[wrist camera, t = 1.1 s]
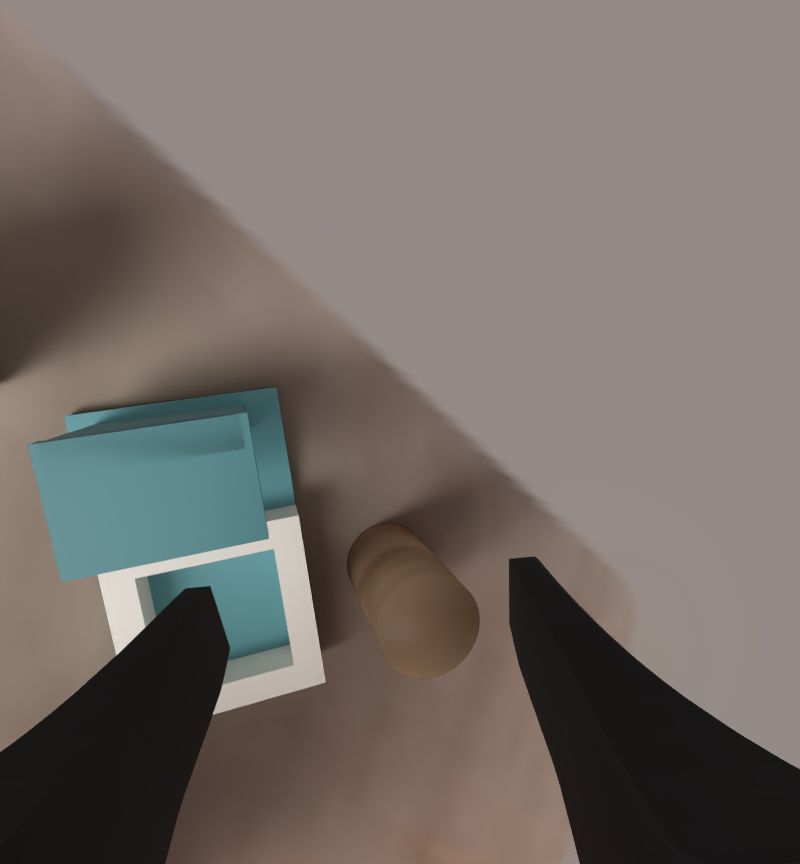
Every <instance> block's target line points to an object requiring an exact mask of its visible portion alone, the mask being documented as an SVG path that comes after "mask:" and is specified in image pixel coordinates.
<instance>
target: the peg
mask: <svg viewBox="0 0 800 864" xmlns="http://www.w3.org/2000/svg"><path fill="white" fill-rule="evenodd" d="M347 571H348V575H349V578H350V580H351V583H352V585H353V587H354V589H355V592H356V594H357V596H358V599H359V601H360V603H361V605H362V608H363V610H364V612H365V615H366V617H367V619H368V621H369V624H370V626H371V628H372V631H373V633H374V635H375V637H376V640H377V642H378V644H379V647H380V649H381V651H382V653H383V656H384V657H385V659H386V661H387V662H388V663H389V665H390V666H391V667H392V668H393V669H394V670H396V671H397V672H399V673H400V674H402V675H404V676H407V677H410V678H416V679H427V678H433V677H437V676H440V675H443V674H445V673H447V672H449V671H450V670H452V669H453V668H455V667H456V666H457V665H458V664H460V663H461V662H462V661H463V660H464V659H465V657H466V656H467V655H468V654H469V652H470V651H471V649H472V647H473V645H474V643H475V641H476V638H477V635H478V631H479V623H480V620H479V611H478V607H477V604H476V602H475V600H474V598H473V596H472V595H471V593H470V592H469V591H468V590H467V589H466V588H465V587H464V586H463V585H462V584H461V583H460V582H459V581H458V580H457V578H456V577H455V576H454V575H453V574H452V573H451V572H450V571H449V570H448V569H447V568H446V567H445V566H444V565H443V564H442V563H441V562H440V561H439V559H438V558H437V557H436V556H435V555H434V554H433V553H432V552H431V551H430V550H429V549H428V548H427V547H426V546H425V545H424V544H423V543H422V542H421V540H420V539H419V538H418V537H417V536H416V535H415V534H414V533H413V532H412V531H411V530H409V529H408V528H406V527H404V526H402V525H399V524H395V523H383V524H378V525H375V526H373V527H371V528H369V529H367V530H366V531H364V532H363V533H362V534H361V535H360V536H359V537H358V538H357V539H356V540H355V542H354V543H353V545H352V547H351V549H350V551H349V554H348V559H347Z"/></svg>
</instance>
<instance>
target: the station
mask: <svg viewBox="0 0 800 864" xmlns="http://www.w3.org/2000/svg"><path fill="white" fill-rule="evenodd" d="M64 418H65V422H66V426H67V431H68V433H67V434H64V435H61V436H58V437H55V438H52V439H49V440H45V441H38V442H35V443H32V444H29V445H28V448H29V452H30V456H31V460H32V464H33V468H34V472H35V476H36V480H37V484H38V489H39V493H40V497H41V501H42V505H43V509H44V513H45V517H46V521H47V525H48V529H49V533H50V538H51V542H52V546H53V550H54V554H55V558H56V562H57V566H58V570H59V574H60V578H61V582H65V581H70V580H74V579H79V578H84V577H89V576H94V575H98V578H99V583H100V587H101V591H102V595H103V600H104V604H105V608H106V613H107V617H108V621H109V626H110V630H111V634H112V639H113V643H114V647H115V651H116V655H117V654H118V653H120V652H121V651H122V650H123V649H124V648H125V647H126V646H127V645H128V644H129V643H130V642H131V641H132V640H133V639H134V638H135V637H136V636H137V635H138V634H139V633H140V632H141V631H142V630H143V629H144V628H145V627H146V626H147V625H148V624H149V623H150V622H151V621H152V620H153V619H154V618H155V617H156V616H157V615H158V614H159V613H160V612H161V611H162V610H163V609H164V608H165V607H166V606H167V605H168V604H169V603H170V602H171V601H172V600H173V599H175V598H176V597H177V596H178V595H179V594H180V593H181V592H182V591H183V590H184V589H185V588H194V587H205V586H211V590H212V593H213V596H214V599H215V602H216V605H217V608H218V611H219V614H220V618H221V621H222V624H223V627H224V630H225V633H226V636H227V639H228V642H229V646H230V652H229V657H228V662H227V667H226V672H225V676H224V680H223V684H222V688H221V692H220V695H219V698H218V701H217V704H216V707H215V710H214V712H213V715H214V714H217V713H221V712H224V711H228V710H231V709H235V708H238V707H242V706H245V705H249V704H252V703H256V702H259V701H263V700H266V699H270V698H273V697H277V696H280V695H284V694H287V693H291V692H294V691H298V690H301V689H305V688H308V687H312V686H315V685H319V684H322V683H326V681H325V675H324V669H323V663H322V657H321V651H320V644H319V638H318V632H317V626H316V620H315V614H314V607H313V601H312V595H311V589H310V583H309V577H308V570H307V564H306V558H305V552H304V546H303V540H302V533H301V527H300V521H299V515H298V511H297V508H296V504H295V498H294V492H293V486H292V479H291V473H290V467H289V461H288V455H287V449H286V443H285V436H284V430H283V424H282V418H281V412H280V406H279V400H278V393H277V387H272V388H265V389H257V390H250V391H242V392H235V393H228V394H220V395H213V396H205V397H198V398H191V399H183V400H176V401H168V402H161V403H154V404H146V405H139V406H132V407H124V408H117V409H109V410H102V411H95V412H87V413H80V414H72V415H67V416H64Z"/></svg>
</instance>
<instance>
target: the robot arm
mask: <svg viewBox="0 0 800 864" xmlns="http://www.w3.org/2000/svg"><path fill="white" fill-rule="evenodd" d="M509 623H510V628H511V632H512V637H513V641H514V646H515V650H516V654H517V658H518V663H519V666H520V669H521V672H522V675H523V678H524V681H525V684H526V687H527V690H528V693H529V695H530V698H531V701H532V704H533V707H534V710H535V713H536V715H537V718H538V721H539V724H540V727H541V730H542V733H543V735H544V738H545V741H546V744H547V747H548V750H549V752H550V755H551V758H552V761H553V764H554V767H555V771H556V774H557V777H558V780H559V784H560V787H561V791H562V795H563V799H564V803H565V807H566V811H567V815H568V818H569V822H570V826H571V830H572V834H573V838H574V842H575V846H576V850H577V854H578V858H579V862H580V864H800V769H798V768H796V767H795V766H793V765H791V764H789V763H787V762H786V761H784V760H782V759H780V758H779V757H777V756H775V755H774V754H772V753H770V752H769V751H767V750H765V749H764V748H762V747H760V746H759V745H757V744H755V743H754V742H752V741H750V740H749V739H747V738H745V737H744V736H742V735H741V734H739V733H737V732H736V731H734V730H733V729H731V728H730V727H728V726H726V725H725V724H724V723H722V722H721V721H719V720H718V719H716V718H715V717H713V716H712V715H710V714H709V713H707V712H706V711H704V710H703V709H701V708H700V707H698V706H697V705H696V704H694V703H693V702H691V701H689V700H688V699H687V698H685V697H684V696H683V695H681V694H680V693H679V692H677V691H676V690H675V689H673V688H672V687H671V686H669V685H668V684H667V683H665V682H664V681H663V680H662V679H660V678H659V677H658V676H656V675H655V674H654V673H653V672H651V671H650V670H649V669H648V668H646V667H645V666H644V665H643V664H642V663H640V662H639V661H638V660H637V659H636V658H635V657H633V656H632V655H631V654H630V653H629V652H628V651H626V650H625V649H624V648H623V647H622V646H621V645H620V644H619V643H618V642H617V641H615V640H614V639H613V638H612V637H611V636H610V635H609V634H608V633H607V632H606V631H605V630H604V629H603V628H602V627H601V626H599V625H598V624H597V623H596V622H595V621H594V620H593V619H592V618H591V617H590V616H589V615H588V614H587V613H586V612H585V611H584V609H583V608H582V607H581V606H580V605H579V604H578V603H577V602H576V601H575V600H574V599H573V598H572V597H571V596H570V595H569V594H568V593H567V592H566V591H565V589H564V588H563V587H562V586H561V585H560V584H559V583H558V582H557V581H556V579H555V578H554V577H553V576H552V575H551V574H550V572H549V571H548V570H547V569H546V568H545V567H544V565H543V564H542V563H541V562H540V561H539V560H538V559H537V558H536V557H525V558H514V559H509ZM229 652H230V646H229V642H228V639H227V636H226V633H225V630H224V627H223V624H222V621H221V618H220V614H219V611H218V608H217V605H216V602H215V599H214V596H213V593H212V590H211V586H205V587H194V588H185V589H184V590H183V591H182V592H181V593H180V594H179V595H178V596H177V597H176V598H175V599H173V600H172V601H171V602H170V603H169V604H168V605H167V606H166V607H165V608H164V609H163V610H162V611H161V612H160V613H159V614H158V615H157V616H156V617H155V618H154V619H153V620H152V621H151V622H150V623H149V624H148V625H147V626H146V627H145V628H144V629H143V630H142V631H141V632H140V633H139V634H138V635H137V636H136V637H135V638H134V639H133V640H132V641H131V642H130V643H129V644H128V645H127V646H126V647H125V648H124V649H123V650H122V651H121V652H120V653H118V654H117V655H116V656H115V657H114V658H113V659H112V660H111V661H110V662H109V663H108V664H107V665H105V666H104V667H103V668H102V669H101V670H100V671H99V672H98V673H97V674H96V675H94V676H93V677H92V678H91V679H90V680H89V681H88V682H87V683H86V684H85V685H83V686H82V687H81V688H80V689H79V690H78V691H77V692H76V693H75V694H73V695H72V696H71V697H70V698H69V699H68V700H66V701H65V702H64V703H63V704H62V705H60V706H59V707H58V708H57V709H56V710H54V711H53V712H52V713H51V714H50V715H48V716H47V717H46V718H45V719H43V720H42V721H41V722H39V723H38V724H37V725H36V726H34V727H33V728H32V729H31V730H29V731H28V732H27V733H26V734H24V735H23V736H22V737H20V738H19V739H18V740H16V741H15V742H14V743H12V744H11V745H10V746H8V747H7V748H5V749H4V750H3V751H1V752H0V864H165V862H166V858H167V854H168V850H169V847H170V843H171V839H172V835H173V831H174V827H175V824H176V820H177V816H178V813H179V810H180V807H181V803H182V800H183V797H184V794H185V791H186V788H187V785H188V783H189V780H190V777H191V774H192V771H193V769H194V766H195V763H196V760H197V757H198V755H199V752H200V749H201V746H202V743H203V741H204V738H205V735H206V732H207V730H208V727H209V724H210V721H211V718H212V715H213V712H214V710H215V707H216V704H217V701H218V698H219V695H220V692H221V688H222V684H223V680H224V676H225V672H226V667H227V662H228V657H229Z"/></svg>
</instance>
